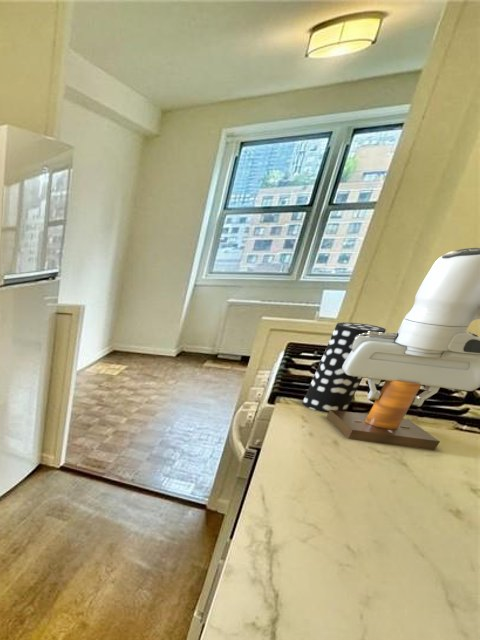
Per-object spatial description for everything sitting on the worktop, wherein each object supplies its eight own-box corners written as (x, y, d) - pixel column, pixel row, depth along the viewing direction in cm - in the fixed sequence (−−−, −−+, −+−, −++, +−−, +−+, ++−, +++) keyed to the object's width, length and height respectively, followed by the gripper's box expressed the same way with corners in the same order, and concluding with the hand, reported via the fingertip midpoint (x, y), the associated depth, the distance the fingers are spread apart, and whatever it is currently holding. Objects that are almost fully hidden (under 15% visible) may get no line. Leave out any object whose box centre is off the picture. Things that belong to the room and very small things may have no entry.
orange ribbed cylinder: (405, 429, 101) (431, 382, 96) (380, 429, 101) (404, 382, 97) (382, 419, 106) (406, 374, 101) (358, 419, 106) (381, 374, 101)
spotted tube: (316, 400, 123) (352, 321, 113) (353, 413, 116) (395, 329, 106) (293, 404, 120) (328, 323, 111) (329, 417, 113) (369, 332, 104)
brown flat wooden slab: (402, 429, 107) (408, 418, 106) (433, 452, 97) (440, 440, 96) (325, 419, 112) (330, 408, 111) (347, 440, 102) (352, 429, 101)
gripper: (362, 333, 97) (332, 397, 104) (509, 347, 88) (467, 417, 94) (355, 327, 102) (327, 388, 108) (493, 340, 93) (454, 406, 99)
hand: (393, 402), depth 101 cm, fingers closed on orange ribbed cylinder, 5 cm apart
